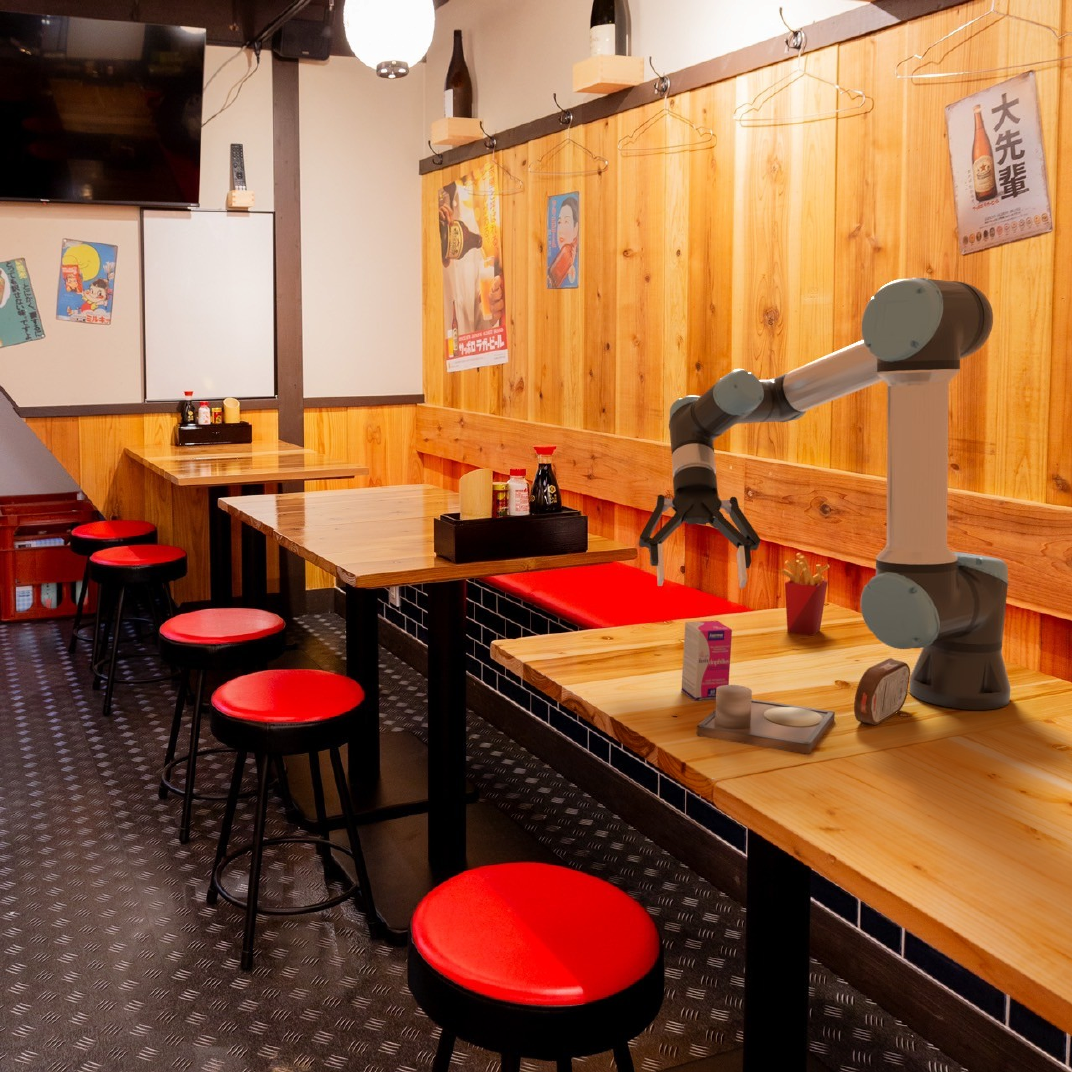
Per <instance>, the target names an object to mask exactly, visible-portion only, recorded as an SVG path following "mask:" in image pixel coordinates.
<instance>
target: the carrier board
mask: <svg viewBox="0 0 1072 1072" xmlns="http://www.w3.org/2000/svg"><path fill="white" fill-rule="evenodd" d="M752 696H753V690H752V689H751V688H749V687H746V686H743V685H738V684H737V685H736V684H729V685H723V686H719V687H717V689H716V699H715V709H714V710H713V711H712V712H711V713H709V715H707V716H706V717H705V718H703V720H702V721H700V723H698V724H697V726H696V736H697V737H705V738H709V739H710V738H711V739H717V740H723V741H729V742H734V743H740V744H746V745H752V746H753V745H754V746H758V747H762V748H763V747H764V748H771V749H776V750H782V751H788V752H794V753H799V754H804V753H805V755H810V754H811V752H812V751H813V750H814V748H815V747H816V746H815V745H818V744H819V742H820V740H821V739H822V738H823V736H824V735H825V734H826V732H827V731H828V730H829V729H830V727H831V726H832V724H833V723H834V722H835V716H836V713H835V712H836V711H832V710H825V709H819V708H812V707H805V706H799V705H793V704H787V703H786V704H785V703H780V702H773V701H768V700H761V699H753V698H752ZM832 722H833V723H832ZM827 729H828V730H827ZM824 733H825V734H824ZM821 737H822V738H821ZM812 749H813V750H812ZM809 753H810V754H809Z"/></svg>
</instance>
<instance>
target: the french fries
mask: <svg viewBox="0 0 1072 1072" xmlns="http://www.w3.org/2000/svg"><path fill="white" fill-rule="evenodd" d="M795 555H796V557H797V558H798V559H796V558H795V557H794V558H793V557H792V558H791V559H790V560H791V561H789V560H788V559H786V560H785V562H784V564H783V565H785V566H786V567H787V568H789V570H788V569H786V568H782V569H781V570H780V572H781V574H782V575H784V576H786V577H788V578H789V580H787V581H784V592H785V593H784V595H785V610H786V611H785V612H786V629H787V630H786V631H787V633H792V634H798V635H804V636H814V635H815V634H816V633H818V632H821V627H822V619H823V612H824V608H825V607H824V606H825V601H826V595H827V588H828V580H824V579H825V577H824V575H822V573H823V572H824V571H826V570H827V569H830V568H831V567H830V564H825V565H823V566H821V565H822V564H816V566H815V571H816V572H815V574H814V575H812V573H811V566H810V564H809V562H808V559H807V558H806V556H805V555H803V554H802V553H801V552H798V553H796V554H795Z"/></svg>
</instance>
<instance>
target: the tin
mask: <svg viewBox="0 0 1072 1072" xmlns="http://www.w3.org/2000/svg"><path fill="white" fill-rule="evenodd" d="M910 677H911V668H910V666H909V664H907V663H906V662H904V661H900V660H897V659H895V658H892V657H890V658H887V659H885V660H883V661H880V662H879V663H876V664H875V665H872V666H870V667H868V668H867V669H866V670H865V671H864V673H863V674H862V676H861V678H860V680H859V682H858V685H857V687H856V691H855V695H854V702H853V705H854V706H853V711H854V717H855V719H856V721H857V722H860V723H865V724H867V725H873V726H876V725H879V724H881V723H882V721H883V722H884V721H886V720H888V719H889V718H892V717H893V716H895V715H896V714H897V713H896V712H898V713H899V712H900V711H901V709H902V708H903V707H904V705H905V703H906V699H907V696H908V691H909V685H910ZM895 713H896V714H895ZM894 714H895V715H894ZM892 715H893V716H892ZM887 718H888V719H887ZM880 722H881V723H880Z"/></svg>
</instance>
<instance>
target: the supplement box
mask: <svg viewBox="0 0 1072 1072" xmlns="http://www.w3.org/2000/svg"><path fill="white" fill-rule="evenodd" d="M683 635H684V638H683V639H684V640H683V641H684V642H683V658H682V670H681V671H682V675H681V691H682V693H684V694H686V695H687V696H688V697H689V698H690V699H692V700H694V701H703V700H704V701H705V700H716V689H717V687H719V686H723V685H730V684H729V683H730V682H729V681H730V670H731V669H730V668H731V654H732V653H731V652H732V637H733V630H732V629H731V628H730V627H728V626H726V625H725V624H724V623H722V622H720V621H718V620H702V621H701V620H697V621H685V622H684V634H683Z"/></svg>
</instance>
